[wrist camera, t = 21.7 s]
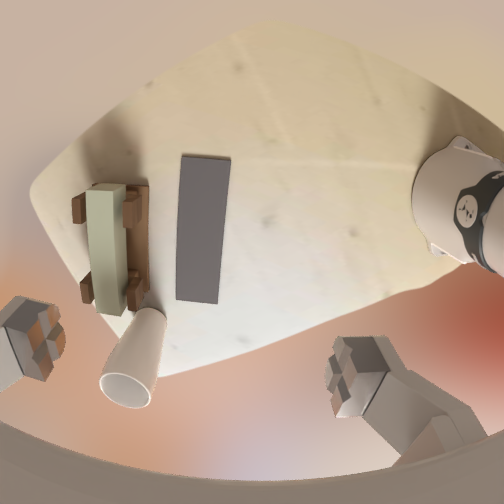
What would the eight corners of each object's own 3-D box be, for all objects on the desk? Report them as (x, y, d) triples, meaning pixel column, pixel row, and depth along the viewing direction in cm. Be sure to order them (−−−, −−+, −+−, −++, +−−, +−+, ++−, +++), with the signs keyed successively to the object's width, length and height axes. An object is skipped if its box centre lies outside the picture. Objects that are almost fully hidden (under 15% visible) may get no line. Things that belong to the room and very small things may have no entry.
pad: (231, 160, 36) (230, 160, 36) (217, 303, 44) (217, 304, 44) (182, 156, 36) (181, 156, 35) (176, 298, 43) (176, 299, 43)
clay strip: (100, 183, 33) (85, 190, 30) (125, 184, 34) (113, 191, 30) (107, 296, 40) (96, 312, 36) (129, 300, 40) (120, 316, 36)
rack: (149, 186, 37) (132, 197, 31) (149, 289, 43) (136, 314, 37) (94, 183, 36) (71, 194, 30) (100, 283, 42) (83, 305, 36)
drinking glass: (168, 342, 46) (148, 415, 33) (128, 329, 45) (98, 398, 32) (176, 309, 44) (154, 383, 30) (133, 296, 43) (97, 364, 29)
